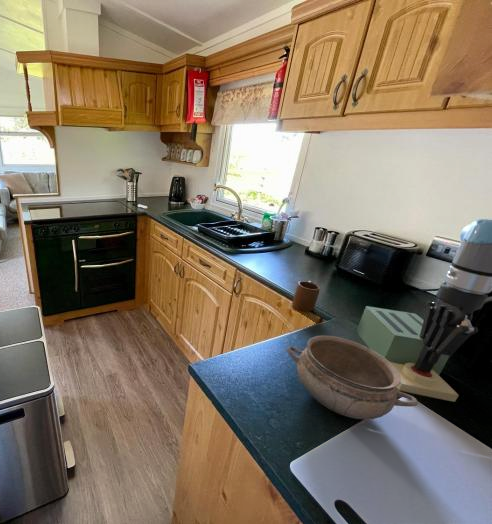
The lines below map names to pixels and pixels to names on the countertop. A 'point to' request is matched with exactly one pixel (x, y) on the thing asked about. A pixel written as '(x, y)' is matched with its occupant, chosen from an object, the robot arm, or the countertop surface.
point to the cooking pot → (349, 377)
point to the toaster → (394, 335)
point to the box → (424, 383)
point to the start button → (421, 372)
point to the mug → (306, 296)
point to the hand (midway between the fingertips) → (421, 369)
